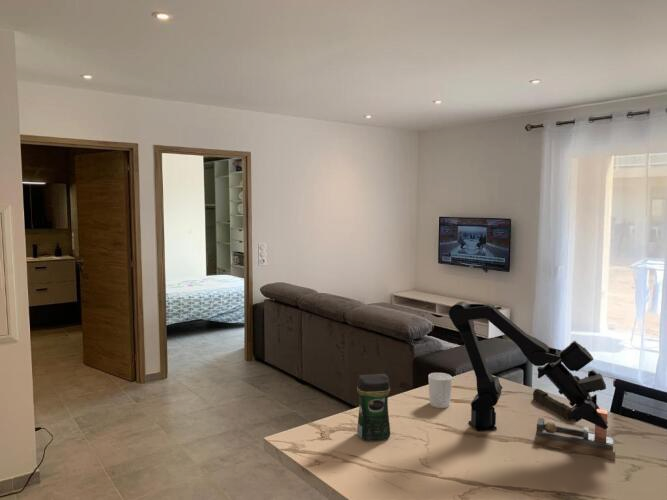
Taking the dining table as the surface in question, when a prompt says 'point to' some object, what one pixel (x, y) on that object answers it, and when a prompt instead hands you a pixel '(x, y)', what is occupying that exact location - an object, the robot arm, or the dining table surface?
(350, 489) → the dining table surface
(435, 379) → the white cup
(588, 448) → the ball pusher game
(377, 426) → the coffee jar
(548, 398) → the dark brown bar
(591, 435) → the lever
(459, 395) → the dining table surface
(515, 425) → the dining table surface
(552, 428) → the nut
